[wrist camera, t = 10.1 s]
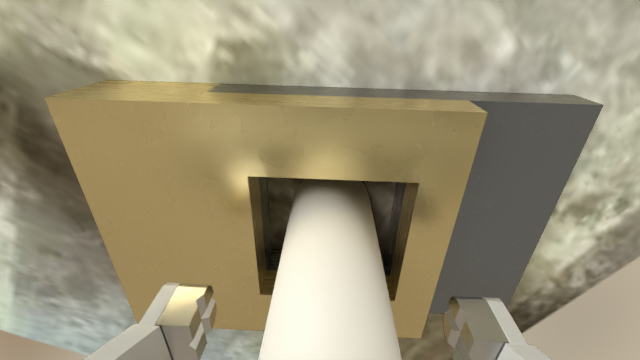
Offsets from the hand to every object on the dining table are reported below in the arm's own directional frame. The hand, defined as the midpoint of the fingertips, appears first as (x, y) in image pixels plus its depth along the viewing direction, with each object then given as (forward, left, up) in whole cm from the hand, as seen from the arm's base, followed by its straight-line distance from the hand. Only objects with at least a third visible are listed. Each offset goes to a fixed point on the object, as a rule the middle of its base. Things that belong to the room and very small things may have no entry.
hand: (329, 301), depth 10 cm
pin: (0, 0, -6) cm, 6 cm away
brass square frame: (0, 0, -6) cm, 6 cm away
